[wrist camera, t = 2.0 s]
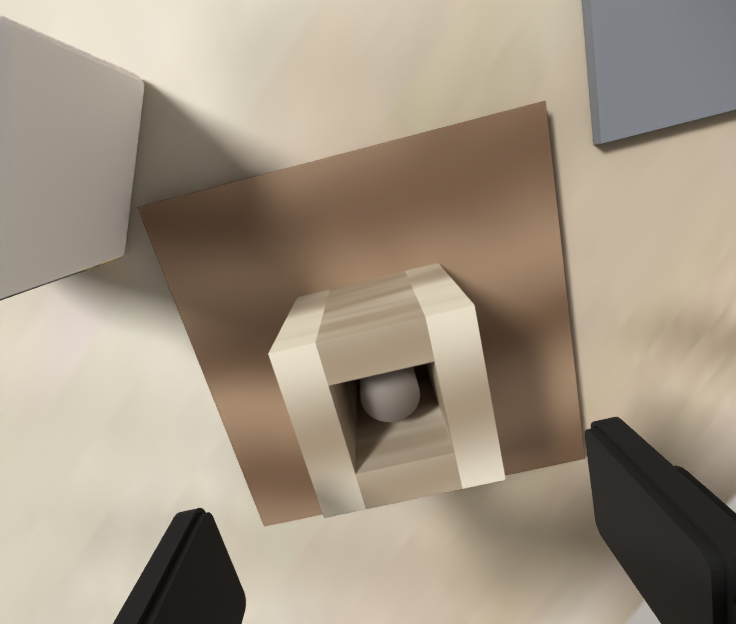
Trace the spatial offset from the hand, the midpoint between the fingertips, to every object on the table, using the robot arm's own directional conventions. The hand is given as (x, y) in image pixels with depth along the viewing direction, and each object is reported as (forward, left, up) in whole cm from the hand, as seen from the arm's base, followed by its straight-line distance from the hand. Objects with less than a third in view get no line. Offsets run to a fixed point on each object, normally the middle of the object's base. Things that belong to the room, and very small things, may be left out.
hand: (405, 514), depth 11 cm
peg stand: (-1, 0, -10) cm, 10 cm away
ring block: (-1, 0, -9) cm, 9 cm away
